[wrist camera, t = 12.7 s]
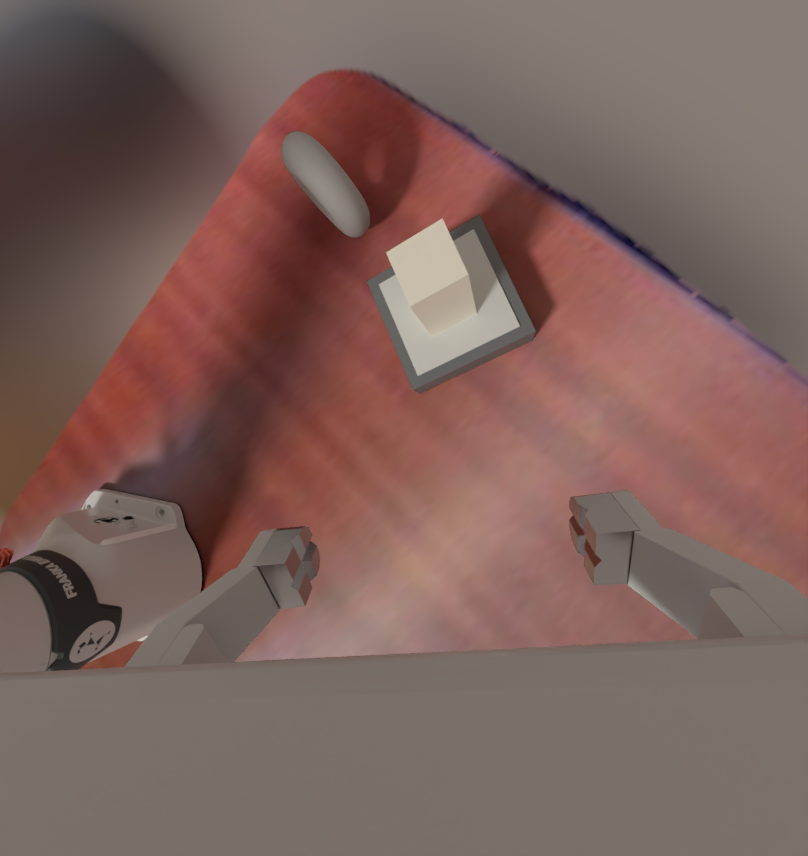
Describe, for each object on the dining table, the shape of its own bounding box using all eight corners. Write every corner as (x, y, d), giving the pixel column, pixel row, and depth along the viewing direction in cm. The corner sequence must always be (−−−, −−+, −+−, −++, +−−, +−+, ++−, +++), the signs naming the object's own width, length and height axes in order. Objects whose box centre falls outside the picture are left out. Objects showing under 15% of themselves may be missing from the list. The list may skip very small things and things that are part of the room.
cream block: (431, 336, 32) (409, 306, 24) (413, 295, 32) (385, 252, 25) (477, 313, 31) (468, 274, 23) (457, 270, 31) (442, 218, 24)
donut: (390, 235, 36) (350, 165, 27) (368, 260, 37) (321, 200, 28) (333, 180, 38) (276, 97, 29) (313, 205, 39) (251, 131, 29)
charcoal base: (420, 393, 35) (412, 389, 32) (377, 293, 37) (366, 280, 34) (532, 340, 32) (536, 330, 29) (481, 232, 34) (479, 213, 31)
